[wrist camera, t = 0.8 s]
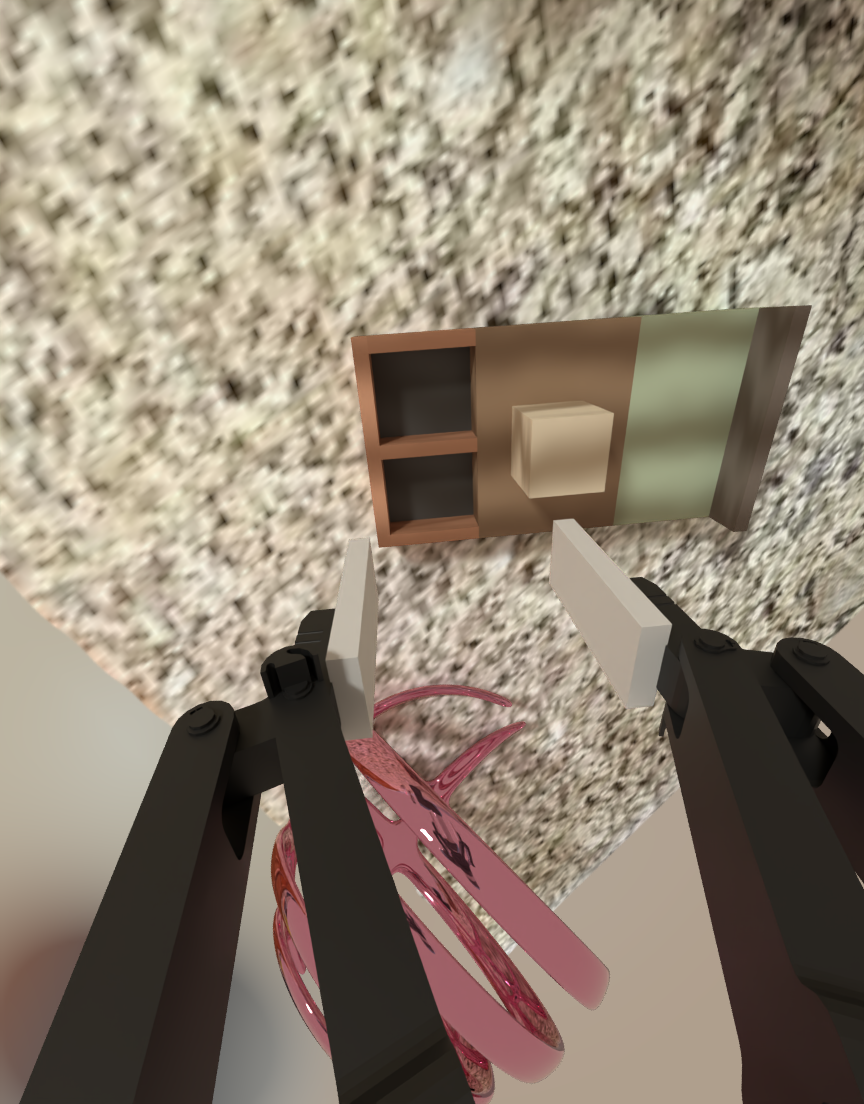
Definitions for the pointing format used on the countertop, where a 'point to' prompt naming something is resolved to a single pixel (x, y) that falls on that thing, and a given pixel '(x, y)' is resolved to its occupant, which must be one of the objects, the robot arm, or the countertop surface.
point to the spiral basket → (451, 915)
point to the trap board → (561, 376)
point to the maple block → (560, 448)
